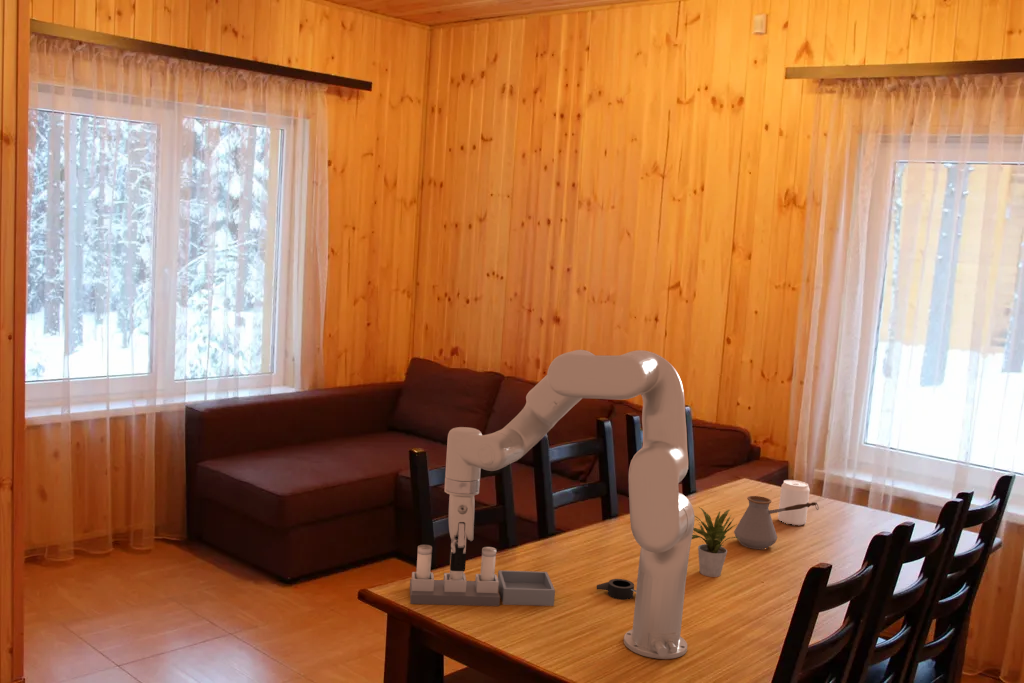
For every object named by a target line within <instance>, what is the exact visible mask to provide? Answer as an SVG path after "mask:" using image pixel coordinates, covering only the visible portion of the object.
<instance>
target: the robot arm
mask: <svg viewBox="0 0 1024 683" xmlns="http://www.w3.org/2000/svg"><path fill="white" fill-rule="evenodd" d="M640 395H641V397H642V398H641V399H642V411H641V412H642V413H641V414H642V415H641V423H642V426H641V427H642V447H641V448H640V449H639V450H638V451H636V453H635V454H634V455H633V457H632V459H631V460H630V464H629V468H628V496H629V497H628V500H629V501H628V502H629V517H630V518H629V519H630V522H629V523H630V529H631V534H632V536H633V538H634V539H635V540H634V541H636V543H637V544H638V545H639V546H640V552H639V560H638V569H637V579H636V580H637V581H636V589H635V590H636V592H635V600H634V601H635V602H634V612H633V621H632V622H633V623H632V629H630V630H628V631H627V632H626V633H625V634H624V636H623V644H624V646H626V648H628V649H629V650H630V651H631V652H633V653H635V654H637V655H641V656H643V657H647V658H651V659H658V660H671V659H677V658H679V657H682V656H684V655H685V654H686V653H687V652H688V643H687V641H686V640H685V639H684V638H683V637H682V636H681V631H682V621H683V620H682V619H683V612H684V603H685V594H686V585H687V584H686V583H687V575H688V565H689V558H690V557H689V556H690V550H691V545H692V540H693V539H692V537H693V536H692V535H694V533H693V532H694V530H693V529H694V528H695V519H694V518H695V517H694V516H695V510H694V508H693V505H692V502H690V500H689V499H688V497H687V496H685V495H684V494H683V493H681V492H679V491H680V490H679V489H680V488H679V484H680V483H681V482H682V481H683V479H684V478H685V477H686V475H687V473H688V470H689V454H688V434H687V420H686V400H685V392H684V385H683V382H682V380H681V377H680V375H679V373H678V371H677V370H676V368H675V367H674V366H673V364H671V363H670V362H669V361H668V360H667V359H666V358H664V357H663V356H661V355H659V354H657V353H655V352H653V351H648V350H641V349H640V350H632V351H629V352H626V353H623V354H620V355H597V354H596V355H595V354H594V353H592V352H590V351H589V350H586V349H585V350H584V349H576V350H572V351H568V352H564V353H562V354H559V355H558V356H556V357H555V358H553V360H552V361H551V363H550V365H549V366H548V368H547V374H546V375H545V376H544V377H543V378H542V379H541V380H540V381H539V382H538V383H537V384H535V386H534V387H532V388H531V389H530V390H529V391H528V393H527V394H526V396H525V400H526V402H525V405H524V406H523V408H522V409H521V411H519V413H518V414H517V415H516V416H515V417H514V418H513V419H511V421H509V423H507V424H506V425H505V426H504V427H503V428H501V429H499V430H497V431H495V432H492V433H487V434H482V431H480V430H479V429H477V428H474V427H468V426H467V427H466V426H465V427H464V426H459V427H457V426H456V427H453V428H451V429H450V430H449V431H448V433H447V442H446V444H447V445H446V457H445V458H446V459H445V474H444V493H446V494H447V495H449V498H448V500H449V501H448V531H449V532H448V533H449V536H450V540H451V541H450V544H451V543H452V542H453V552H451V545H450V546H449V558H448V559H449V560H448V563H449V571H450V570H451V571H464V572H465V571H466V562H467V551H466V550H467V540H468V541H470V542H472V541H473V540H474V533H475V532H474V529H475V526H474V525H475V506H476V505H475V504H476V503H475V496H476V495H479V494H480V487H481V486H480V485H481V482H480V481H481V470H485V471H490V472H494V471H499V470H501V469H503V468H505V467H508V465H510V464H513V463H514V462H518V461H519V460H520V459H522V458H523V457H524V456H525V455H526V454H528V452H529V451H530V450H531V449H533V447H535V446H536V445H537V444H538V443H539V442H540V441H541V440H542V439H543V438H544V437H545V436H546V435H547V434H548V433H549V432H550V431H551V429H553V428H554V427H555V425H556V424H557V423H558V422H559V421H560V420H561V419H562V418H563V417H565V415H566V414H568V412H569V411H570V410H571V409H572V408H573V407H575V405H577V404H578V403H579V402H580V401H581V400H582V399H592V400H593V399H597V400H598V399H599V400H619V401H622V400H629V399H633V398H635V397H638V396H640ZM456 542H458V544H456ZM450 559H451V563H450Z"/></svg>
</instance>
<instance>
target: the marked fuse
mask: <svg viewBox="0 0 1024 683" xmlns="http://www.w3.org/2000/svg"><path fill="white" fill-rule="evenodd" d="M456 544H458V542H456ZM450 546H451V552H453V542H452V543H451V542H450ZM450 563H451V559H450ZM449 573H450V576H449V580H463V573H465V571H451V570H450V569H449Z"/></svg>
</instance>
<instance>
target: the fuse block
mask: <svg viewBox="0 0 1024 683" xmlns="http://www.w3.org/2000/svg"><path fill="white" fill-rule="evenodd" d="M480 575H481V573H475V578H474V579H475V580H467V577H466V573H465V572H464V573H463V580H449V576H450V572H444V573H443V579H435V576H434V572H431V571H430V579H416V571H412V572H411V578H410V580H409V598H410V599H409V600H410V602H409V603H410V605H413V604H414V605H440V606H441V605H443V606H445V605H446V606H448V605H449V606H453V605H454V606H477V607H478V606H479V607H481V606H485V607H488V606H489V607H500V599H501V596H500V593H499V589H498V585H499V581H498V574H495V573H494V581H480Z"/></svg>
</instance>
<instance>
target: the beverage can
mask: <svg viewBox="0 0 1024 683" xmlns="http://www.w3.org/2000/svg"><path fill="white" fill-rule="evenodd" d="M810 491H811V490H810V486H809V483H807V482H804V481H801V480H794V479H785V480H783V483H782V484H781V488H780V495H779V503H778V504H779V505H778V509H781V508H786V507H790V506H794V505H798V504H807V503H809V499H810ZM808 509H809V507H804V508H801V509H796V510H788V511H781V512H777V514H778V515H777V519H778V521H780V522H781V521H782V522H781V523H783V522H784V523H783V524H785V523H787V524H786V525H788V524H792V525H791V526H795V525H798V526H802V525H805V524H806V523H807V517H808V516H807V515H808Z"/></svg>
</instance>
